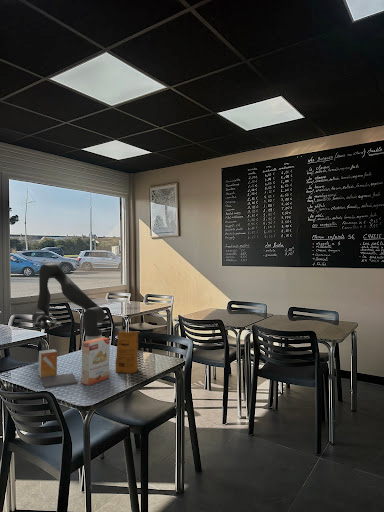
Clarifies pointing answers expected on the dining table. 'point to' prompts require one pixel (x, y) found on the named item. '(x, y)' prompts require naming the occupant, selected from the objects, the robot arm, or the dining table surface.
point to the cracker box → (95, 360)
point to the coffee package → (127, 352)
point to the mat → (59, 380)
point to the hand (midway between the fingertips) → (46, 326)
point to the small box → (47, 363)
